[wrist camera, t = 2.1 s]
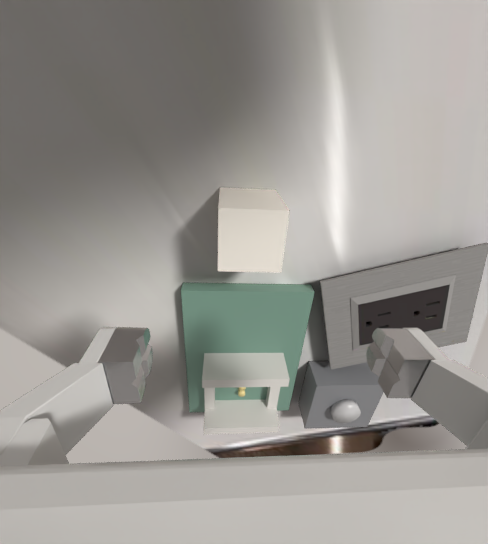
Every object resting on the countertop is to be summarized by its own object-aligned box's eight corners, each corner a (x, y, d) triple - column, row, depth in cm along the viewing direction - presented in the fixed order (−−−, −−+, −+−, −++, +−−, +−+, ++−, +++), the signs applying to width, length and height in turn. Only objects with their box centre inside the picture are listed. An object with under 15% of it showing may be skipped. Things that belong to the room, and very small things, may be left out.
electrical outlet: (324, 353, 29) (331, 372, 27) (313, 270, 24) (322, 285, 22) (450, 326, 28) (468, 343, 26) (468, 234, 23) (492, 246, 21)
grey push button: (308, 361, 29) (319, 392, 26) (372, 360, 29) (391, 391, 26) (298, 403, 32) (306, 435, 29) (355, 401, 33) (370, 434, 30)
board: (182, 282, 23) (175, 314, 20) (310, 284, 24) (325, 315, 20) (190, 402, 31) (186, 440, 27) (286, 400, 32) (294, 437, 28)
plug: (219, 187, 19) (218, 208, 15) (275, 189, 20) (290, 210, 15) (219, 246, 22) (217, 278, 17) (269, 247, 22) (280, 279, 18)
